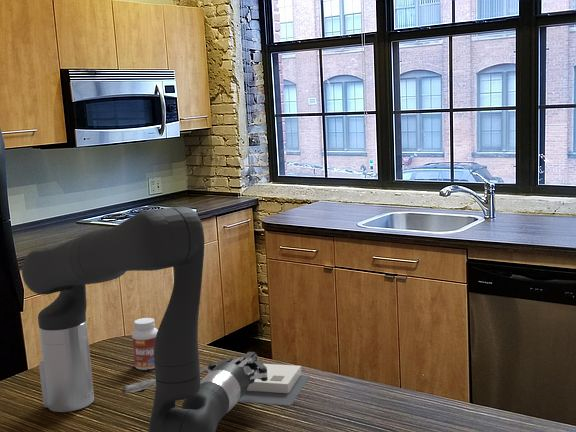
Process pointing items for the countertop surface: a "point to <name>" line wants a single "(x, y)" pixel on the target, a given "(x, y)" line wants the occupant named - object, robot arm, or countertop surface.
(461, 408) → the countertop surface
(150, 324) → the pill bottle
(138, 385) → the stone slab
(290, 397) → the rubber mat
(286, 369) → the flat white box
